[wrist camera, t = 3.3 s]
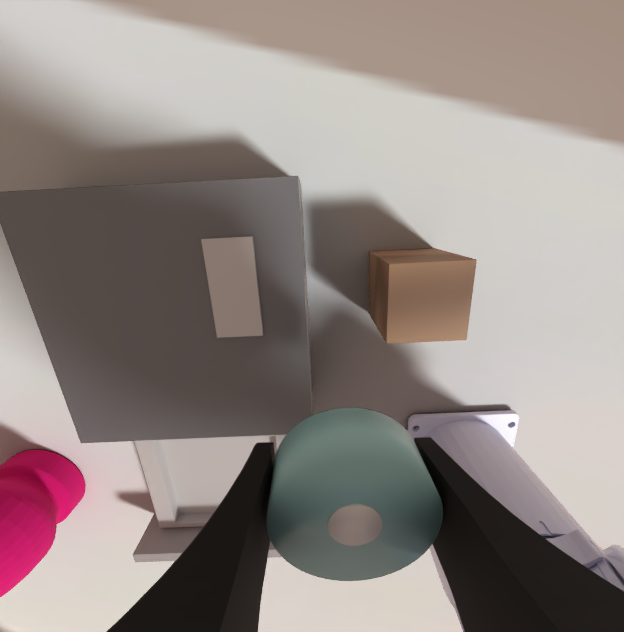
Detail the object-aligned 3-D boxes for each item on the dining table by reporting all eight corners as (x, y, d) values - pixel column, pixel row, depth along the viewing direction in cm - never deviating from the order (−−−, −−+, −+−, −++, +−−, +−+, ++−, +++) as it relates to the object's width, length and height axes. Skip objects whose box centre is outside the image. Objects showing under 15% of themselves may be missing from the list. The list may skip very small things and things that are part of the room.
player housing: (312, 393, 22) (313, 435, 18) (122, 401, 22) (78, 445, 18) (301, 184, 17) (297, 175, 13) (62, 197, 17) (-16, 192, 13)
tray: (317, 514, 25) (317, 558, 22) (158, 520, 26) (136, 564, 22) (308, 371, 21) (307, 400, 18) (117, 380, 21) (82, 410, 18)
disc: (409, 520, 12) (430, 583, 10) (275, 521, 12) (269, 585, 10) (428, 407, 10) (458, 456, 8) (271, 407, 10) (262, 457, 8)
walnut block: (429, 309, 20) (466, 339, 15) (368, 312, 20) (386, 343, 15) (434, 248, 18) (476, 259, 14) (369, 251, 19) (389, 263, 14)
